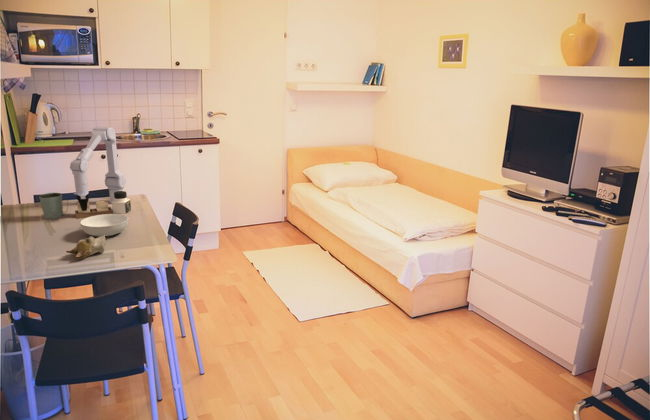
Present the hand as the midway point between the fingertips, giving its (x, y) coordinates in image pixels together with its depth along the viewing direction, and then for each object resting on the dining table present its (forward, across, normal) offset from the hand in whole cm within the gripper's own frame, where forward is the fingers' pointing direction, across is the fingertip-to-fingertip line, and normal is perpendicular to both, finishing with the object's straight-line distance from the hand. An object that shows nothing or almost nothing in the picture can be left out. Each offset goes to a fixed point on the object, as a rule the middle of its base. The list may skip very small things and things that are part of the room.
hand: (84, 209), depth 264 cm
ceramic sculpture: (+4, +58, -1) cm, 58 cm away
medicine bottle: (+4, +1, +18) cm, 18 cm away
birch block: (+2, 0, 0) cm, 2 cm away
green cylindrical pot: (+4, -5, -14) cm, 16 cm away
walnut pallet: (+4, 0, +4) cm, 6 cm away
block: (+3, 0, +9) cm, 9 cm away
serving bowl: (+4, +32, +8) cm, 33 cm away
